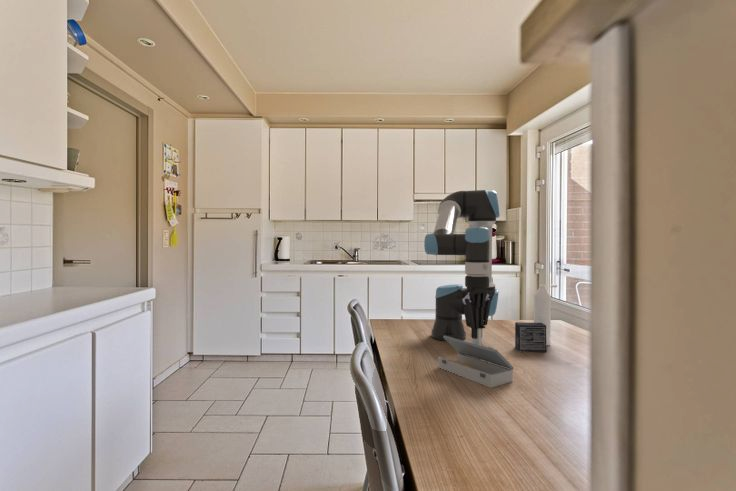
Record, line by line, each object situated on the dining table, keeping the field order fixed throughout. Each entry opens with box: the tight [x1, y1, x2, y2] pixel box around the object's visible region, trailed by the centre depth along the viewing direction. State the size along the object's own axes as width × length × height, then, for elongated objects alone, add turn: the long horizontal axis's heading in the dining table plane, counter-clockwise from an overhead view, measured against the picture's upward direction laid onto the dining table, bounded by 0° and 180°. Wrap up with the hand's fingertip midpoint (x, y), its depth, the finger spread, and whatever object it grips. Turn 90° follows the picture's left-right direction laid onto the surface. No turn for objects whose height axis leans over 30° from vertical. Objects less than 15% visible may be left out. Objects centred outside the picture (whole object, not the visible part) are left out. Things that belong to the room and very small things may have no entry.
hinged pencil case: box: [437, 352, 514, 389], centre depth 129 cm, size 22×10×4 cm, turn 34°
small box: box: [514, 321, 547, 353], centre depth 159 cm, size 11×6×10 cm, turn 84°
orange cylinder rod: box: [447, 358, 475, 369], centre depth 132 cm, size 10×3×3 cm, turn 34°
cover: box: [443, 335, 514, 371], centre depth 130 cm, size 22×10×1 cm
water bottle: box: [533, 283, 558, 347], centre depth 168 cm, size 9×6×25 cm
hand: (476, 348), depth 130 cm, fingers closed
